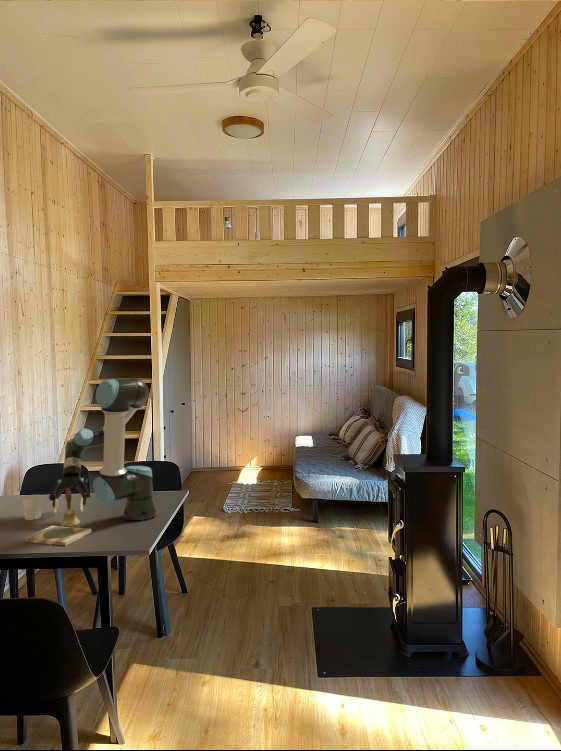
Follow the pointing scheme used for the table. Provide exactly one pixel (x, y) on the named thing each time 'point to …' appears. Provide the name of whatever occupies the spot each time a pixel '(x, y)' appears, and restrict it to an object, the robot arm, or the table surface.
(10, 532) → the table surface
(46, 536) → the bell board
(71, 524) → the hand bell
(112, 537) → the table surface
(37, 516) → the white cup
